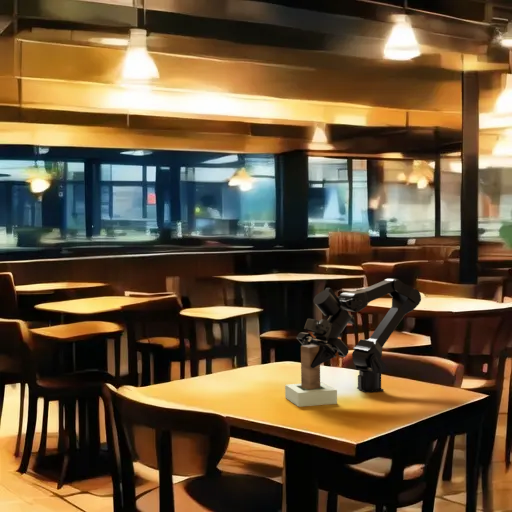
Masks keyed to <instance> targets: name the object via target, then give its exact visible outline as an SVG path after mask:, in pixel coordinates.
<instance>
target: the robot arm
mask: <svg viewBox="0 0 512 512" xmlns="http://www.w3.org/2000/svg"><path fill="white" fill-rule="evenodd" d="M387 295H389V297H391V298H392V299H391V307H390V309H388V312H387V313H386V314H385V316H384V317H383V319H382V320H381V321H380V323H379V324H378V325H377V327H376V328H375V330H374V331H373V332H372V334H371V335H370V337H369V338H368V339H359V341H358V342H357V344H356V345H355V346H354V347H353V348H352V349H353V351H352V352H351V356H352V357H351V359H352V362H353V364H354V368H355V370H357V371H358V375H357V387H356V389H357V390H359V391H361V392H363V393H373V392H374V393H375V392H383V391H384V388H382V373H385V371H386V367H387V366H386V363H385V362H384V361H383V360H382V357H383V347H384V346H385V344H386V343H387V341H388V340H389V338H390V337H391V335H392V334H393V332H394V331H395V330H396V329H397V326H399V324H400V323H401V321H402V320H403V318H404V317H405V315H407V314H408V313H410V312H413V311H414V310H415V309H416V308H417V307H418V306H419V305H420V303H421V301H422V295H421V293H420V291H419V290H418V289H417V288H413V287H412V286H410V285H408V284H406V283H404V282H402V281H401V280H400V279H398V278H389V277H388V278H385V279H384V280H382V281H380V282H378V283H377V282H376V283H375V284H373V285H370V286H367V287H365V288H363V289H359V290H349V291H345V292H342V293H340V294H339V296H337V294H336V293H335V292H334V290H333V289H332V287H331V288H330V287H326V288H325V289H324V290H322V291H320V292H319V293H317V294H316V295H315V296H314V297H313V304H314V305H315V306H316V307H317V309H318V310H320V312H321V313H322V314H323V316H326V317H328V318H327V319H324V318H321V319H320V320H317V319H314V318H307V319H306V322H305V325H304V328H303V329H304V330H308V331H310V332H312V333H309V332H299V333H298V334H297V335H296V338H295V339H296V340H297V341H298V342H299V343H300V344H301V346H304V345H316V346H319V351H318V353H317V355H316V356H315V358H314V360H313V362H312V364H311V368H315V367H316V366H318V365H320V366H321V365H322V364H324V363H325V362H327V361H329V360H331V359H333V358H337V354H338V356H339V357H341V358H346V357H347V355H348V354H349V346H347V345H346V343H345V342H344V341H343V340H342V338H343V337H344V334H343V333H342V332H343V331H344V330H345V328H346V327H347V325H348V324H351V325H355V324H356V320H355V315H353V314H351V313H350V312H354V313H357V312H360V311H362V310H363V309H365V308H366V307H367V306H368V304H369V303H370V302H373V301H376V300H378V299H380V298H382V297H385V296H387ZM312 335H313V336H312ZM314 337H315V338H314Z"/></svg>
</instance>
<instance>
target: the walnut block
mask: <svg viewBox="0 0 512 512" xmlns="http://www.w3.org/2000/svg"><path fill="white" fill-rule="evenodd" d="M318 351H319V346H316V345H304V346H303V345H300V370H301V371H300V372H301V374H300V377H301V379H300V381H301V382H300V384H301V387H302V388H305V389H309V390H311V389H317V388H320V382H321V364H320V365H318V366H316V367H315V368H311V364H312V362H313V360H314V358H315V356H316V355H317V353H318Z"/></svg>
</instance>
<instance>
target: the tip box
mask: <svg viewBox="0 0 512 512" xmlns="http://www.w3.org/2000/svg"><path fill="white" fill-rule="evenodd" d="M284 386H285V387H284V389H285V390H284V391H285V392H284V393H285V394H284V395H285V397H284V398H285V399H287V400H288V401H289V402H291V403H292V404H294V406H297V407H298V408H300V407H313V406H321V405H322V406H325V405H336V404H337V405H338V390H337V389H336V388H334V387H332V386H330V385H328V384H327V383H325V382H323V381H320V388H317V389H311V390H309V389H305V388H302V387H301V383H289V384H285V385H284Z"/></svg>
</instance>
